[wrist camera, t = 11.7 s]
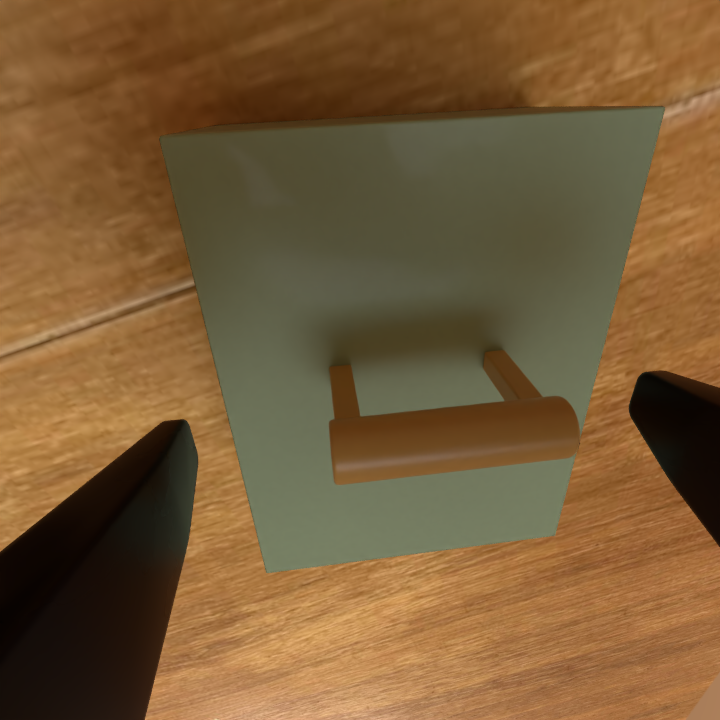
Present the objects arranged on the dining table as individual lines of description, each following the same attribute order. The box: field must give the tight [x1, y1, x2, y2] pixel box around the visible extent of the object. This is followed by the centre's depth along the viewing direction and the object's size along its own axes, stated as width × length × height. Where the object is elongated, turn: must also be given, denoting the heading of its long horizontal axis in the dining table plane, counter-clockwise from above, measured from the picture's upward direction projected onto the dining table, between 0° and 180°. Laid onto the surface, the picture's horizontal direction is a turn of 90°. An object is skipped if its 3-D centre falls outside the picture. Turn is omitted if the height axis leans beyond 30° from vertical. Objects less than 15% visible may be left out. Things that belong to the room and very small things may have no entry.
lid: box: [159, 106, 665, 573], centre depth 13 cm, size 16×13×5 cm
